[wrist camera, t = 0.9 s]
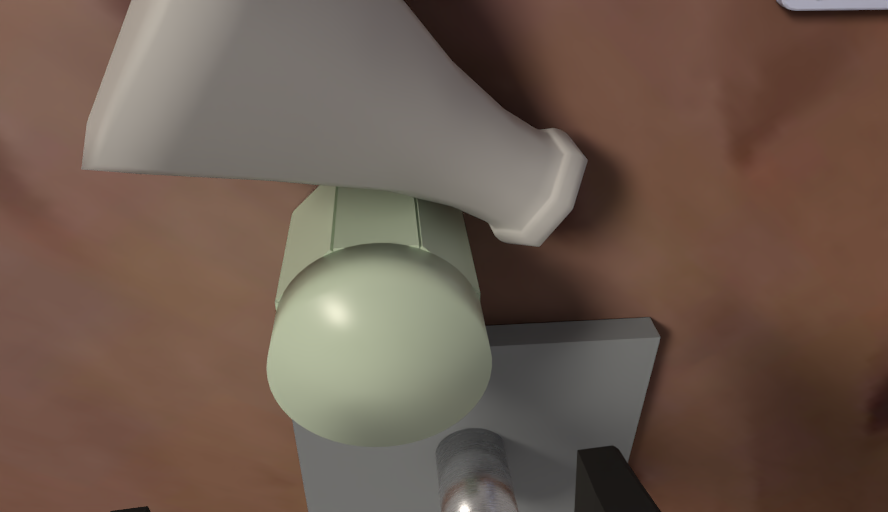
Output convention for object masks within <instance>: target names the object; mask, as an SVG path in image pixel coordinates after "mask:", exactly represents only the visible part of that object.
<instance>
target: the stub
mask: <svg viewBox="0 0 888 512" xmlns="http://www.w3.org/2000/svg"><path fill="white" fill-rule="evenodd" d="M435 457H436V467H437V477H438V487H439V497H440V507H441V512H518V508H517V503H516V498H515V493H514V488H513V484H512V479H511V474H510V469H509V464H508V460H507V455H506V450H505V445H504V442H503V440H502V439H501V437H500V436H499V435H497V434H496V433H494V432H492V431H490V430H486V429H482V428H468V429H462V430H459V431H456V432H453V433H451V434H449V435H448V436H446V437H445V438H444V439H443V440H442V441H441V442H440V443H439V444H438V446H437V448H436V452H435Z"/></svg>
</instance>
